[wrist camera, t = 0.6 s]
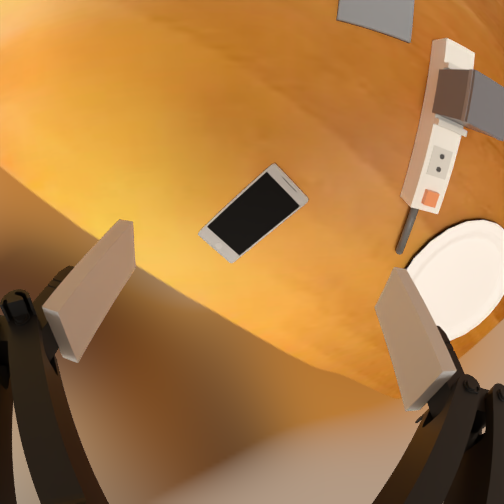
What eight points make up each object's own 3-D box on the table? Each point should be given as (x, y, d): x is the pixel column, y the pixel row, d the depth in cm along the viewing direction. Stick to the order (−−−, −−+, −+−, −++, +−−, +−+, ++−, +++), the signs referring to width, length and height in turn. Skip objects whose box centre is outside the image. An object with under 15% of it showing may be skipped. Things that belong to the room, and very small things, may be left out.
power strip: (432, 40, 26) (451, 36, 21) (459, 53, 26) (479, 52, 21) (382, 247, 43) (393, 266, 38) (408, 252, 43) (419, 270, 38)
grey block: (438, 68, 25) (475, 69, 18) (474, 86, 25) (512, 93, 18) (431, 112, 28) (466, 122, 21) (466, 128, 28) (503, 141, 21)
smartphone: (198, 231, 44) (196, 234, 43) (274, 160, 38) (274, 162, 37) (232, 261, 47) (231, 264, 46) (309, 198, 40) (310, 200, 39)
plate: (526, 261, 41) (530, 265, 40) (443, 352, 56) (445, 357, 54) (462, 183, 36) (468, 186, 35) (358, 313, 50) (359, 320, 49)
